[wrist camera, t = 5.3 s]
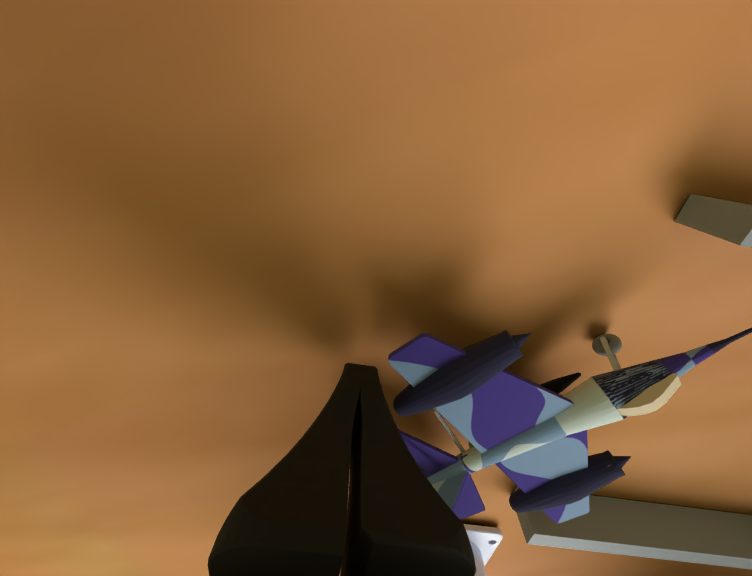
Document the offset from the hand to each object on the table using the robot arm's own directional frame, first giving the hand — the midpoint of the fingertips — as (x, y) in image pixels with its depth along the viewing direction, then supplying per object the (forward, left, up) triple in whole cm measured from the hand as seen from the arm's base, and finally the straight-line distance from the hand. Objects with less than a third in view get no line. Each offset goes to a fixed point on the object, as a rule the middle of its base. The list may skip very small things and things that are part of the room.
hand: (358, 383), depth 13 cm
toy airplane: (0, -8, -2) cm, 8 cm away
